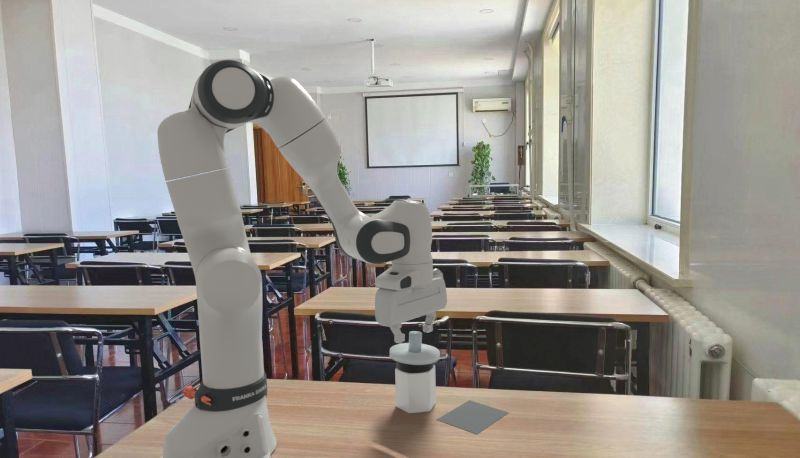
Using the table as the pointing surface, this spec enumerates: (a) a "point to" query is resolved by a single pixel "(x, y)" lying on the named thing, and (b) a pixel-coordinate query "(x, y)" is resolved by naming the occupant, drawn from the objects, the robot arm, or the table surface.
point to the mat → (472, 416)
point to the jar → (415, 387)
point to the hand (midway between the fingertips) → (414, 336)
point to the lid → (414, 351)
